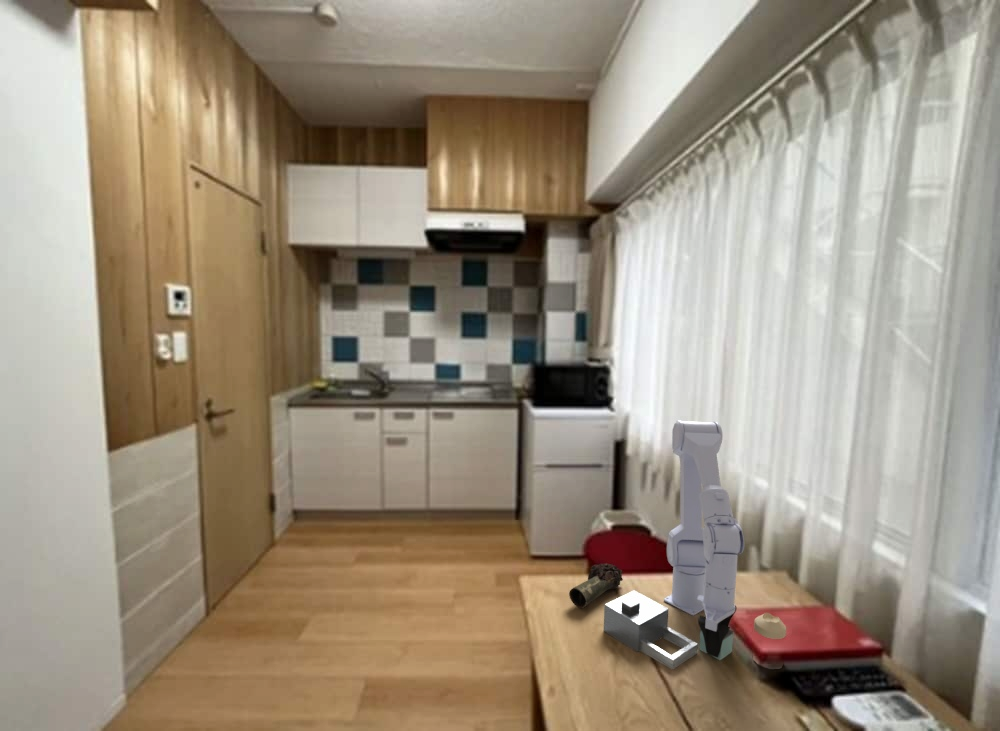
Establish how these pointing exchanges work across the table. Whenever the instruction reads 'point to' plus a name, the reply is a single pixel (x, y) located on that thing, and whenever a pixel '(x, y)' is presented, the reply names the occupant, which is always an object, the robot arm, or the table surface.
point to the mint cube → (725, 647)
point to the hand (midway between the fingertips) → (715, 646)
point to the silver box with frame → (645, 628)
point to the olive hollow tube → (596, 584)
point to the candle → (770, 626)
